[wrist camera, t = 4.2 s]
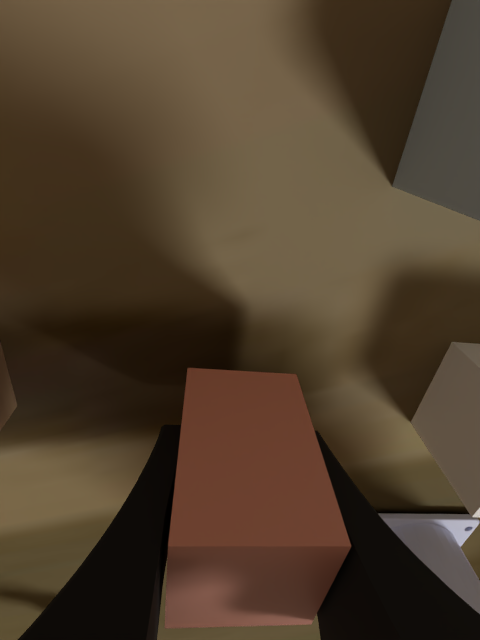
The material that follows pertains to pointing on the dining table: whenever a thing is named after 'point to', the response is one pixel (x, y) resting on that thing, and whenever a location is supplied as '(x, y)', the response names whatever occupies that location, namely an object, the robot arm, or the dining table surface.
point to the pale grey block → (455, 421)
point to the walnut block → (5, 392)
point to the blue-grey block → (448, 120)
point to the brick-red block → (250, 506)
